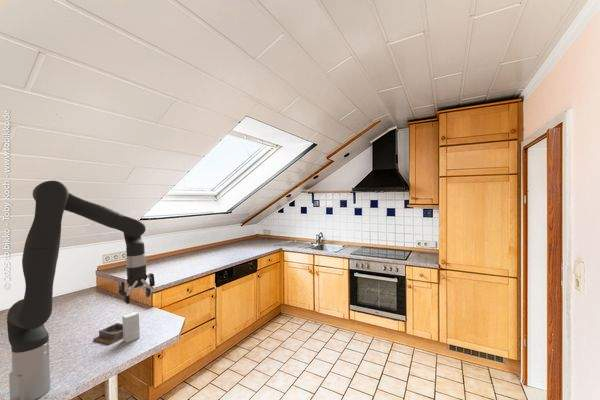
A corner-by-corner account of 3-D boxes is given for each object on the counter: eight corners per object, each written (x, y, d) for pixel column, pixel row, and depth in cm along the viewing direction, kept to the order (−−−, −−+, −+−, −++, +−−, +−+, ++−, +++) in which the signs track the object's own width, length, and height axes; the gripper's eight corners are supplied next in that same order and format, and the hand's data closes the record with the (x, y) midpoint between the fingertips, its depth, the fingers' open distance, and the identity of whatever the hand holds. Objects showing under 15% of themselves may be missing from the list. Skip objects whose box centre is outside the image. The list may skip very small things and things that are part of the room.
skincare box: (136, 335, 134) (135, 311, 134) (140, 337, 131) (139, 313, 131) (122, 340, 129) (121, 315, 129) (125, 343, 126) (125, 318, 126)
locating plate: (108, 344, 125) (108, 336, 125) (93, 340, 129) (93, 332, 129) (136, 330, 139) (136, 322, 138) (122, 327, 143) (121, 319, 142)
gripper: (122, 269, 113) (124, 307, 114) (156, 261, 125) (158, 296, 125) (114, 267, 117) (116, 304, 118) (148, 259, 129) (150, 293, 130)
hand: (138, 299), depth 122 cm, fingers open, 8 cm apart
